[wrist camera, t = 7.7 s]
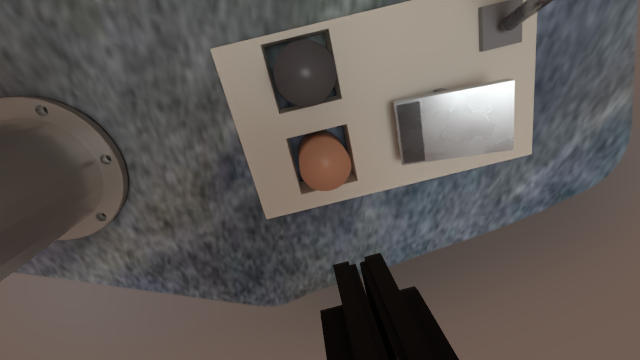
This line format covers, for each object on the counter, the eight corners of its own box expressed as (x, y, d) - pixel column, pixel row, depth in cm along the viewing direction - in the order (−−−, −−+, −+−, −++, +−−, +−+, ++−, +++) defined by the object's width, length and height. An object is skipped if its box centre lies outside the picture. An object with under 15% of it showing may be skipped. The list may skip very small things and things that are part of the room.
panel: (268, 204, 29) (265, 226, 25) (219, 50, 24) (205, 48, 20) (508, 145, 29) (542, 158, 25) (510, -20, 24) (553, -36, 20)
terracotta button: (304, 177, 28) (306, 196, 24) (293, 135, 27) (294, 149, 23) (345, 166, 28) (355, 184, 24) (337, 125, 27) (345, 136, 23)
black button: (284, 104, 24) (282, 112, 20) (270, 51, 23) (265, 47, 18) (332, 92, 24) (342, 98, 20) (322, 38, 23) (329, 32, 18)
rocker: (400, 160, 25) (401, 166, 24) (393, 100, 23) (393, 103, 22) (507, 145, 23) (514, 150, 22) (508, 78, 21) (515, 80, 20)
